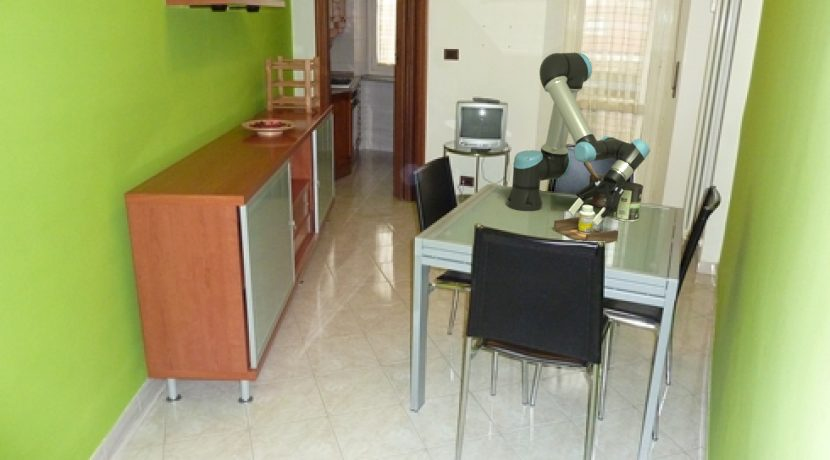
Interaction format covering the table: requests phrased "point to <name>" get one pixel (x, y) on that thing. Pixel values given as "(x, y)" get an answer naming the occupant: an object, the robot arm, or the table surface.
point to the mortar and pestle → (597, 199)
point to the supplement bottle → (586, 220)
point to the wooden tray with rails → (571, 230)
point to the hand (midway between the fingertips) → (582, 218)
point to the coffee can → (629, 203)
